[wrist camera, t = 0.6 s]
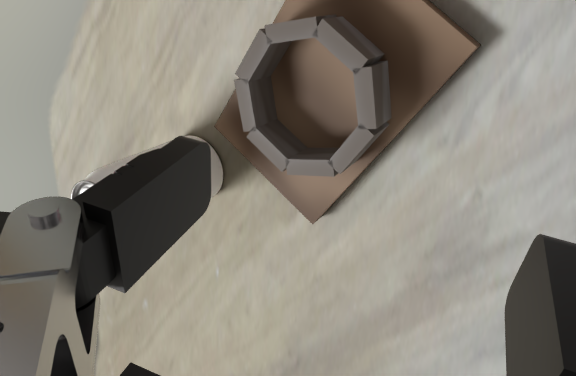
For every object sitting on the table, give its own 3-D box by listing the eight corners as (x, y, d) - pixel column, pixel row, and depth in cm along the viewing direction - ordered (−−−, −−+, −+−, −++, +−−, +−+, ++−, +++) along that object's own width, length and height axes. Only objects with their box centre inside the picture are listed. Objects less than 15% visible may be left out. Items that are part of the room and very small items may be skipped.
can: (200, 121, 41) (89, 160, 31) (237, 180, 41) (138, 236, 32) (164, 153, 45) (56, 196, 35) (199, 206, 45) (100, 263, 36)
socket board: (339, -76, 29) (307, -85, 25) (480, 44, 27) (467, 53, 23) (224, 122, 39) (190, 135, 36) (320, 217, 38) (294, 240, 34)
